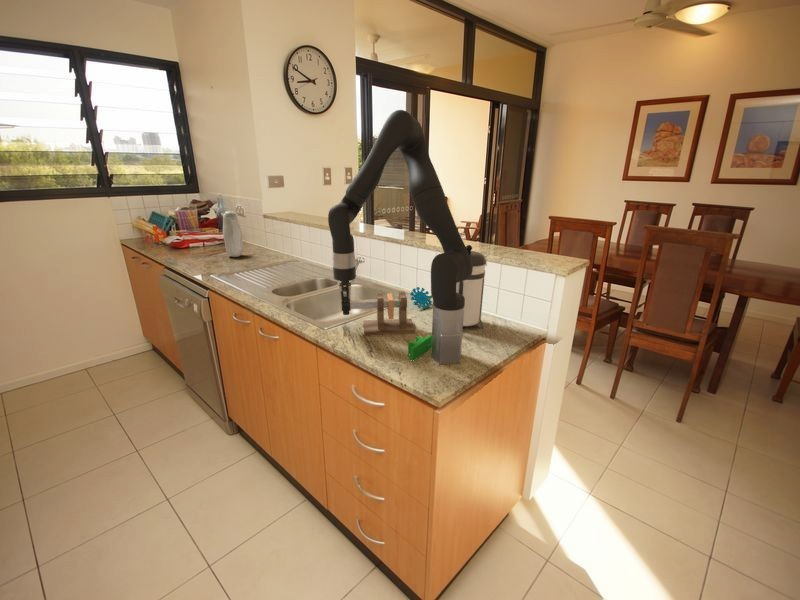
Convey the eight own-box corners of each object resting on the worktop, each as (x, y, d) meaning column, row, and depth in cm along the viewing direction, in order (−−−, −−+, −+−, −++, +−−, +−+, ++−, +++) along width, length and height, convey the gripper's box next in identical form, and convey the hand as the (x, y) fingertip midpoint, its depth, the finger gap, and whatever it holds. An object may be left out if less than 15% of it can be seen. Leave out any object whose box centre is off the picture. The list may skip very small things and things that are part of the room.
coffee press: (450, 313, 150) (454, 238, 140) (489, 321, 143) (496, 243, 132) (431, 328, 136) (434, 247, 126) (472, 338, 129) (479, 253, 118)
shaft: (407, 308, 132) (407, 300, 131) (341, 310, 129) (341, 302, 128) (406, 305, 135) (406, 296, 134) (342, 307, 132) (341, 298, 131)
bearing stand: (415, 333, 132) (416, 298, 127) (364, 336, 130) (363, 300, 125) (411, 322, 141) (411, 289, 137) (363, 324, 139) (362, 290, 135)
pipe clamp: (421, 345, 124) (422, 332, 123) (431, 348, 122) (432, 335, 121) (402, 358, 116) (402, 345, 114) (412, 362, 114) (413, 348, 112)
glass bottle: (245, 257, 232) (239, 211, 223) (227, 259, 228) (220, 212, 218) (243, 254, 240) (236, 209, 231) (225, 255, 236) (218, 210, 226)
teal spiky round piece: (415, 308, 150) (408, 286, 154) (408, 314, 155) (402, 293, 159) (437, 306, 156) (430, 285, 160) (430, 313, 161) (423, 292, 164)
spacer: (393, 319, 131) (393, 300, 128) (389, 319, 130) (388, 300, 128) (391, 311, 137) (391, 293, 135) (387, 311, 137) (387, 293, 134)
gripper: (355, 270, 119) (357, 320, 125) (355, 259, 132) (357, 304, 138) (331, 270, 118) (334, 320, 124) (333, 259, 132) (336, 305, 138)
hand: (346, 312), depth 131 cm, fingers closed on shaft, 3 cm apart
